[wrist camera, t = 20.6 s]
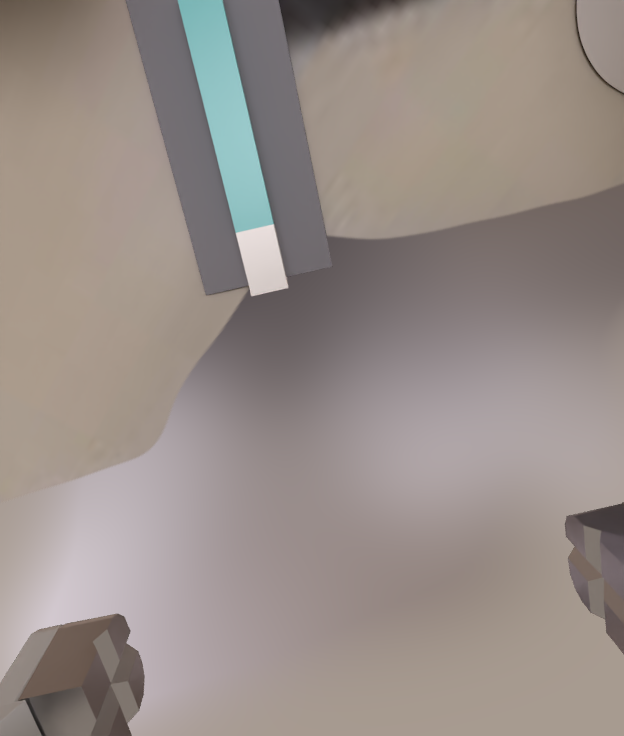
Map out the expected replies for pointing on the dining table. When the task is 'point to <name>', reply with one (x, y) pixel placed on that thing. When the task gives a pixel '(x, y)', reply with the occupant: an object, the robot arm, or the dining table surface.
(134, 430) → the dining table surface
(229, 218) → the mat
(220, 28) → the block
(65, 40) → the dining table surface
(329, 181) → the dining table surface
